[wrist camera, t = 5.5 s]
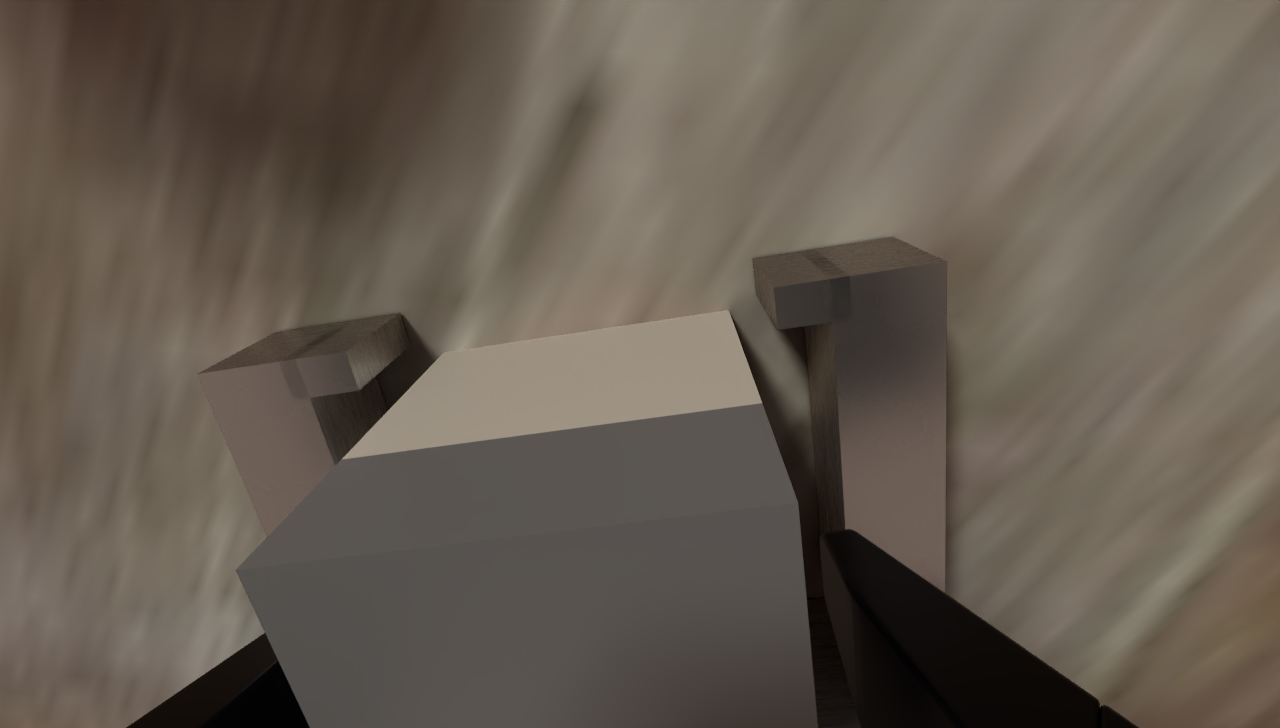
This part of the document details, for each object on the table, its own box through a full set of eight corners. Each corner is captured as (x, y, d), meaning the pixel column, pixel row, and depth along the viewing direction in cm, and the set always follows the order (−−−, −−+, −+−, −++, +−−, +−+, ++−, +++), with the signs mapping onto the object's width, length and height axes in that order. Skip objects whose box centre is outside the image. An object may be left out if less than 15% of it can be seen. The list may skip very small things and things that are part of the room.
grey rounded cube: (727, 306, 11) (798, 502, 5) (756, 547, 13) (831, 888, 7) (447, 348, 11) (236, 570, 6) (512, 575, 13) (399, 917, 7)
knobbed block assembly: (235, 338, 11) (-56, 482, 7) (941, 229, 10) (1171, 310, 6) (413, 781, 15) (306, 1067, 10) (940, 732, 14) (1077, 1025, 9)
